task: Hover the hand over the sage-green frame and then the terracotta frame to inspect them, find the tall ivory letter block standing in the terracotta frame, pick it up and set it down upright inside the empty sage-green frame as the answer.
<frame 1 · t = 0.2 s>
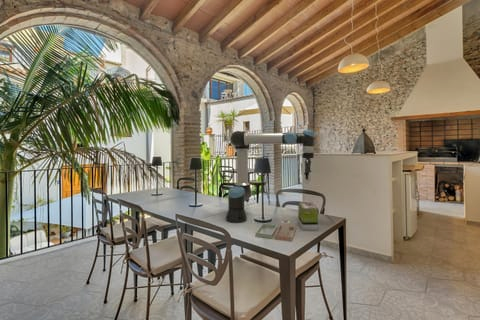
hand: (307, 182, 173), 28 cm above the table, fingers open, 13 cm apart
letter block: (285, 228, 149), in the tray B
tray B: (285, 234, 149), on the table
tea box: (307, 226, 164), on the table
tray A: (266, 232, 153), on the table
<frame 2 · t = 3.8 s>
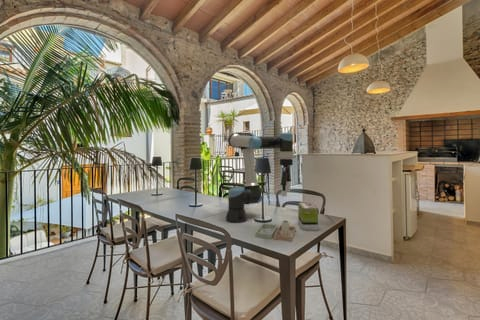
hand: (286, 194, 147), 25 cm above the table, fingers open, 13 cm apart
nothing on the table moved.
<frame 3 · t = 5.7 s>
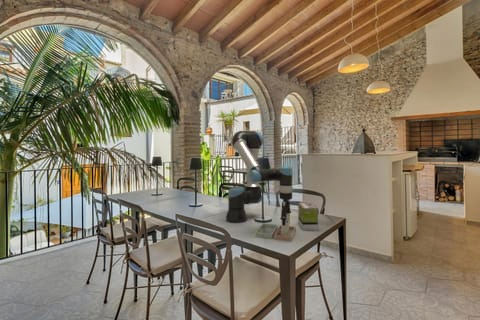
hand: (285, 226, 148), 5 cm above the table, fingers open, 13 cm apart
nothing on the table moved.
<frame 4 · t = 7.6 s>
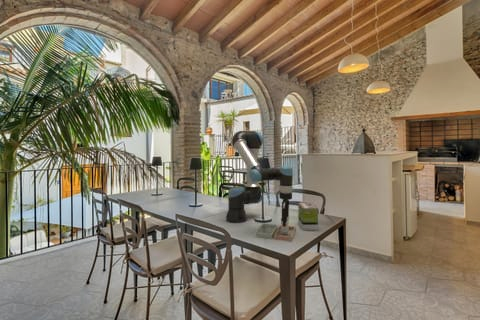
hand: (284, 229, 149), 3 cm above the table, fingers closed on letter block, 4 cm apart
letter block: (284, 223, 149), point 7 cm above the table, touching gripper
everything else where it was.
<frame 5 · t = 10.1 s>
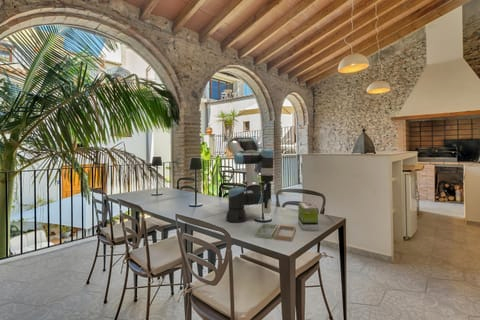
hand: (267, 212, 152), 13 cm above the table, fingers closed on letter block, 4 cm apart
letter block: (266, 205, 152), point 17 cm above the table, touching gripper
everything else where it was.
when the fingers open (1 cm above the table, at t = 12.4 s): letter block stays where it is, resting in tray A.
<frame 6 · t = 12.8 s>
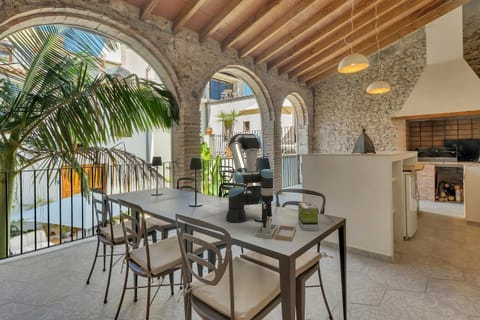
hand: (266, 229, 153), 2 cm above the table, fingers open, 10 cm apart
letter block: (266, 225, 153), in the tray A
everything else where it was.
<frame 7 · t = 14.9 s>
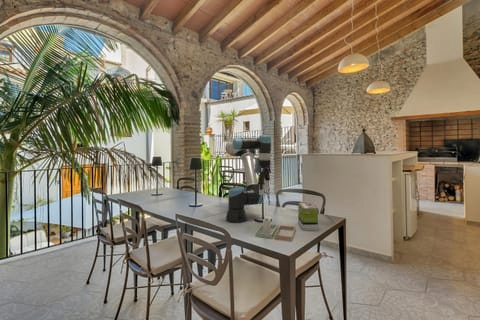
hand: (264, 192, 158), 24 cm above the table, fingers open, 13 cm apart
nothing on the table moved.
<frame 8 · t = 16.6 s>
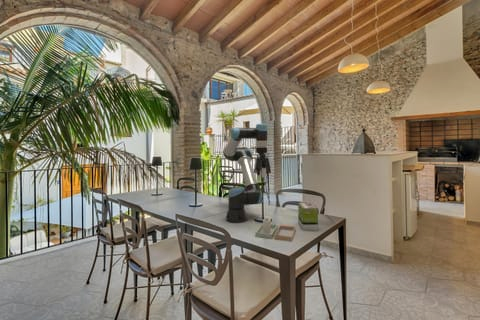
hand: (261, 178, 165), 32 cm above the table, fingers open, 13 cm apart
nothing on the table moved.
at the end: letter block inside the target area on the tray A (0.1 cm from its centre), point 4.1 cm above the tray A's base; letter block tilted 0°; the gripper is holding nothing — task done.
